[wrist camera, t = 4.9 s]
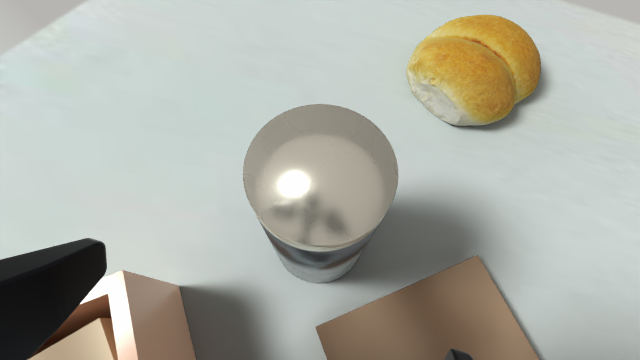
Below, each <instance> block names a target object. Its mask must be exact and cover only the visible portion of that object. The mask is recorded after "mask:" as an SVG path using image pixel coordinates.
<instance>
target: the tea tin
mask: <svg viewBox="0 0 640 360" xmlns="http://www.w3.org/2000/svg"><path fill="white" fill-rule="evenodd" d="M243 181H244V188H245V192H246V195H247V198H248V200H249V202H250V205H251V207H252V208H253V210H254V212H255V214H256V216H257V218H258V219H259V221H260V223H261V225H262V227H263V229H264V231H265V232H266V234H267V236H268V238H269V240H270V242H271V243H272V245H273V247H274V249H275V251H276V253H277V254H278V256H279V258H280V260H281V262H282V263H283V265H284V266H285V267H286V269H287V270H288V271H289V272H290V273H292V274H293V275H294V276H296V277H297V278H299V279H301V280H304V281H307V282H312V283H326V282H330V281H333V280H336V279H338V278H340V277H342V276H343V275H344V274H346V273H347V272H348V271H349V270H350V269H351V268H352V267H353V265H354V264H355V262H356V261H357V259H358V257H359V256H360V254H361V253H362V251H363V249H364V248H365V246H366V245H367V243H368V241H369V240H370V238H371V236H372V235H373V233H374V232H375V230H376V228H377V227H378V225H379V224H380V222H381V220H382V219H383V217H384V216H385V214H386V212H387V211H388V209H389V207H390V206H391V204H392V201H393V199H394V197H395V193H396V189H397V184H398V166H397V160H396V157H395V154H394V151H393V149H392V147H391V145H390V143H389V141H388V139H387V138H386V136H385V135H384V134H383V133H382V131H381V130H380V129H379V128H378V127H377V126H376V125H375V124H374V123H372V122H371V121H370V120H368V119H367V118H366V117H364V116H362V115H360V114H359V113H357V112H354V111H352V110H350V109H347V108H343V107H340V106H334V105H326V104H314V105H306V106H301V107H297V108H294V109H291V110H288V111H286V112H284V113H282V114H280V115H278V116H276V117H275V118H274V119H272V120H271V121H269V122H268V123H267V124H266V125H265V126H264V127H263V128H262V129H261V130H260V131H259V132H258V133H257V135H256V136H255V138H254V139H253V141H252V142H251V144H250V146H249V149H248V151H247V154H246V157H245V161H244V167H243Z"/></svg>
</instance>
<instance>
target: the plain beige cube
mask: <svg viewBox="0 0 640 360" xmlns="http://www.w3.org/2000/svg"><path fill="white" fill-rule="evenodd" d="M28 360H118V356H117V350H116V343H115V337H114V330H113V323H112V318H98V319H97V320H95V321H93V322H91V323H90V324H88V325H86V326H85V327H83V328H81V329H79V330H78V331H76V332H74V333H73V334H71V335H69V336H68V337H66V338H64V339H62V340H61V341H59V342H57V343H56V344H54V345H52V346H50V347H49V348H47V349H45V350H44V351H42V352H40V353H38V354H37V355H35V356H33V357H32V358H30V359H28Z"/></svg>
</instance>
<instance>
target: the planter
mask: <svg viewBox="0 0 640 360" xmlns="http://www.w3.org/2000/svg"><path fill="white" fill-rule="evenodd" d="M98 318H112V323H113V330H114V337H115V343H116V350H117V356H118V360H196V357H195V353H194V349H193V344H192V340H191V336H190V331H189V327H188V323H187V318H186V314H185V310H184V305H183V301H182V297H181V292H180V288H179V286H178V285H175V284H171V283H167V282H164V281H160V280H156V279H153V278H149V277H145V276H142V275H138V274H135V273H131V272H127V271H124V270H122V271H119V272H117V273H114V274H112V275H109V276H106V277H104V278H102V279H101V280H100V281H99V282H98V283H97V284H96V286H95V287H94V288H93V289H92V290H91V292H90V293H89V294H88V295H87V296H86V297H85V299H84V300H83V301H82V302H81V303H80V305H79V306H78V307H77V308H76V309H75V310H74V312H73V313H72V314H71V315H70V316H69V318H68V319H67V320H66V321H65V322H64V323H63V324H62V325H61V327H60V328H59V329H58V330H57V331H56V332H55V333H54V334H53V335H52V336H51V337H50V338H49V339H48V340H47V341H46V342H45V343H44V344H43V345H42V346H41V347H40V348H39V349H38V350H37V351H36V352H35V353H34V354H33V355H32V356H31V357H30V358H32V357H33V356H35V355H37V354H38V353H40V352H42V351H44V350H45V349H47V348H49V347H50V346H52V345H54V344H56V343H57V342H59V341H61V340H62V339H64V338H66V337H68V336H69V335H71V334H73V333H74V332H76V331H78V330H79V329H81V328H83V327H85V326H86V325H88V324H90V323H91V322H93V321H95V320H97V319H98ZM30 358H29V359H30Z"/></svg>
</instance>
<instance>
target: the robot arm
mask: <svg viewBox="0 0 640 360" xmlns="http://www.w3.org/2000/svg"><path fill="white" fill-rule="evenodd" d="M106 269H107V261H106V247H105V245H104V243H103V242H101V241H98V240H94V239H91V238H86V239H82V240H78V241H74V242H70V243H66V244H62V245H58V246H54V247H50V248H46V249H42V250H38V251H34V252H30V253H26V254H22V255H18V256H14V257H10V258H6V259H2V260H0V360H28V359H29V358H30V357H31V356H32V355H33V354H34V353H35V352H36V351H37V350H38V349H39V348H40V347H41V346H42V345H43V344H44V343H45V342H46V341H47V340H48V339H49V338H50V337H51V336H52V335H53V334H54V333H55V332H56V331H57V330H58V329H59V328H60V327H61V325H62V324H63V323H64V322H65V321H66V320H67V319H68V318H69V316H70V315H71V314H72V313H73V312H74V310H75V309H76V308H77V307H78V306H79V305H80V303H81V302H82V301H83V300H84V299H85V297H86V296H87V295H88V294H89V293H90V292H91V290H92V289H93V288H94V287H95V286H96V284H97V283H98V282H99V281H100V280H101V279H102V277H103V276H104V274H105V272H106ZM444 360H474V359H473V358H472V357H471V355H470V354H468V353H467V352H463V351H460V350H457V349H450V350H449V351H448V353H447V355H446V357H445V359H444Z"/></svg>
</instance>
